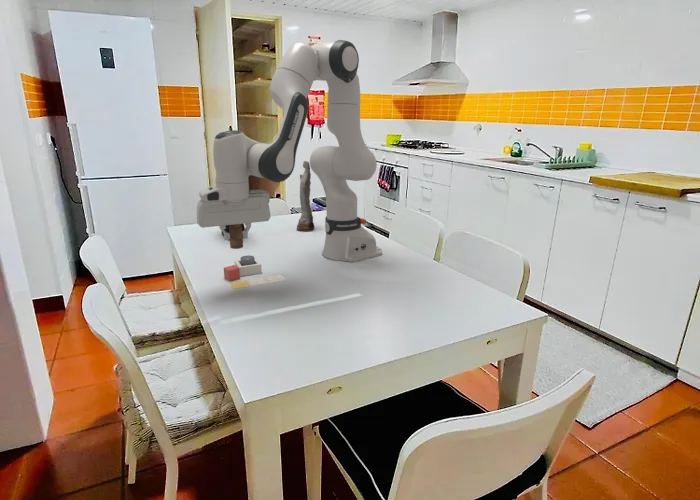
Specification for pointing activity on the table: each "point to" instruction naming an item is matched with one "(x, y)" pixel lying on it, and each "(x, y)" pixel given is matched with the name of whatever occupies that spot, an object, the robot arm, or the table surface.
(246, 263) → the dome
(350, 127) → the robot arm
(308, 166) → the statue
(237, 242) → the pawn
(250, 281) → the board
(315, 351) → the table surface
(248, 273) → the housing
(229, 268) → the red cube
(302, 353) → the table surface
